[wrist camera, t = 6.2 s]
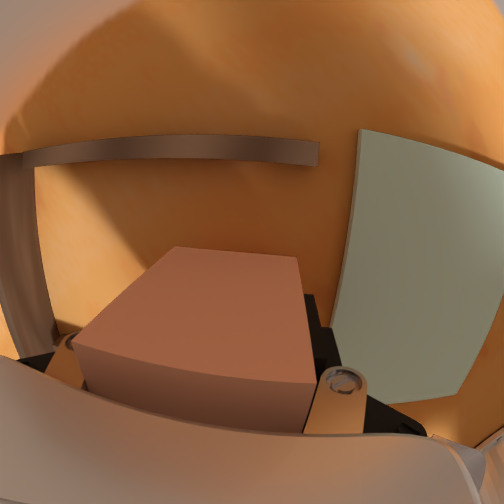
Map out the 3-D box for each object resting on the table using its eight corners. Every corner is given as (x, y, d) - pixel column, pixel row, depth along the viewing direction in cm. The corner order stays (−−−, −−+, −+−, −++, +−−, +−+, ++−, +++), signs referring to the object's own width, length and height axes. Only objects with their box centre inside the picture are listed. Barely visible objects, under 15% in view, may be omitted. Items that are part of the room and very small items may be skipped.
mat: (521, 180, 11) (527, 181, 10) (453, 389, 16) (455, 394, 15) (358, 130, 11) (362, 128, 11) (309, 400, 16) (309, 406, 16)
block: (296, 257, 11) (316, 383, 5) (282, 356, 13) (279, 489, 6) (174, 246, 11) (71, 340, 5) (179, 344, 13) (122, 459, 6)
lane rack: (314, 144, 12) (331, 136, 8) (261, 474, 20) (258, 508, 16) (25, 153, 13) (-20, 158, 9) (95, 435, 21) (80, 461, 17)
